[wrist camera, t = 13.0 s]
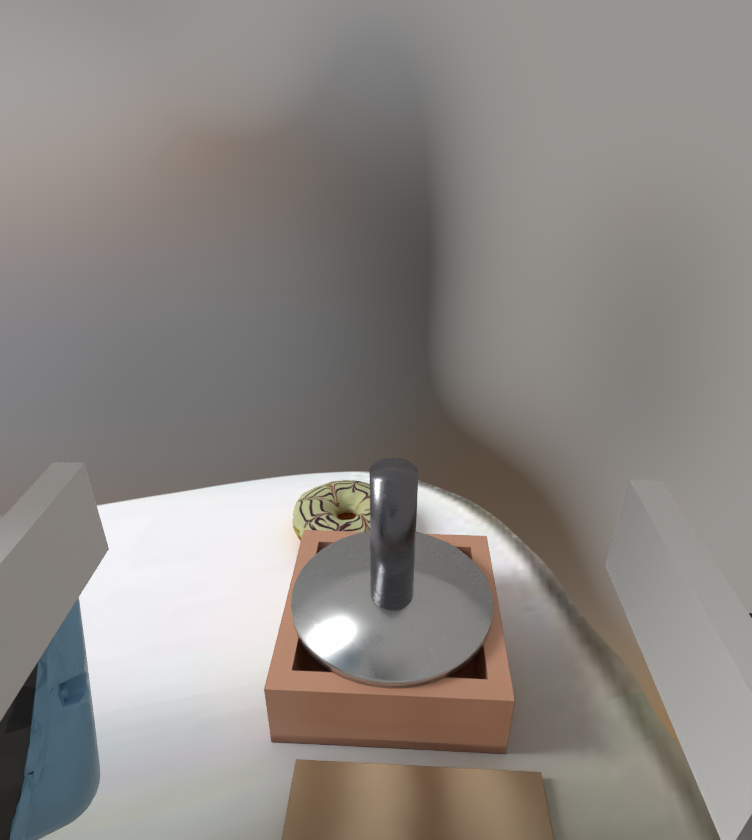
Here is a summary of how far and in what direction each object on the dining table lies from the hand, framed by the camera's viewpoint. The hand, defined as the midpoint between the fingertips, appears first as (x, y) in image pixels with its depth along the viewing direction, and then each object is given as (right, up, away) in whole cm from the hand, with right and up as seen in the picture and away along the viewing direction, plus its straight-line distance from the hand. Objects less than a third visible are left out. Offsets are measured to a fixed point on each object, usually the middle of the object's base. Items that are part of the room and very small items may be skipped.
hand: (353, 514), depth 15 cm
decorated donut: (-2, -10, +46) cm, 47 cm away
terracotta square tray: (+2, -16, +33) cm, 37 cm away
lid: (+2, -11, +30) cm, 32 cm away
